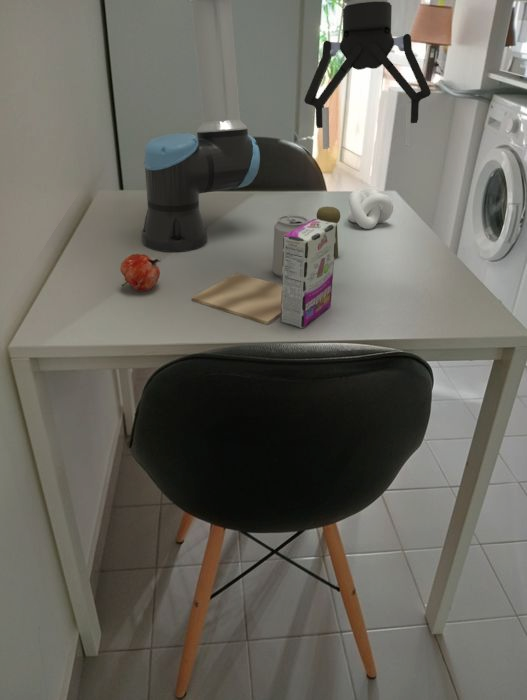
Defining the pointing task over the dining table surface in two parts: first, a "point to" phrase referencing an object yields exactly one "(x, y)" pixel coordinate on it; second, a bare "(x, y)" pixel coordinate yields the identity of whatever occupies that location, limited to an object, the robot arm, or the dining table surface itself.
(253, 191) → the dining table surface
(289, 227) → the can
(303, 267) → the candy bar box
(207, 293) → the wooden board
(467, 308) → the dining table surface
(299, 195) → the dining table surface
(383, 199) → the white knot sculpture
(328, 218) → the pepper shaker
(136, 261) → the pomegranate
